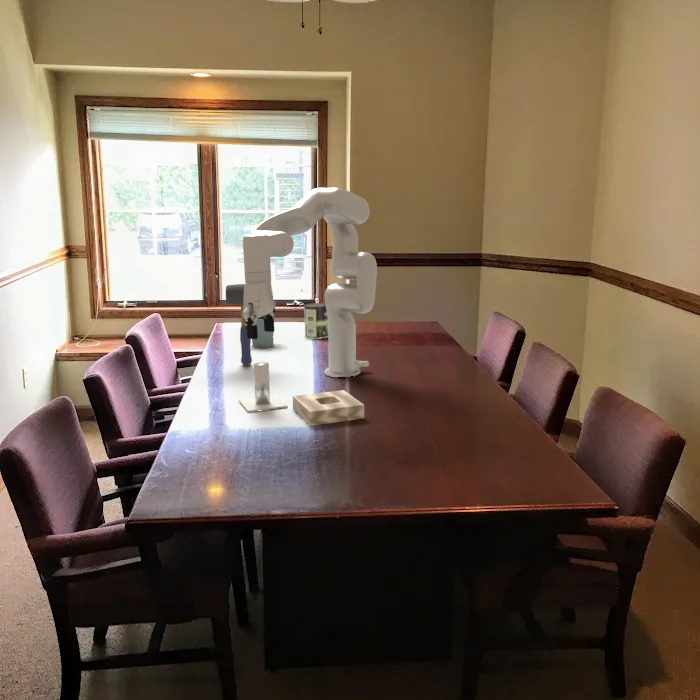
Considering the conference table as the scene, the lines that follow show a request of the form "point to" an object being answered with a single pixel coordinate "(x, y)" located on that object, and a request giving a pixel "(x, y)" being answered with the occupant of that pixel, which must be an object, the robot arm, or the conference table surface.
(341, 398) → the socket block
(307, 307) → the coffee can
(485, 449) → the conference table surface
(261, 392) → the steel cylinder
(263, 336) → the teal cup
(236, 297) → the rubber mallet
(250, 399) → the mat
